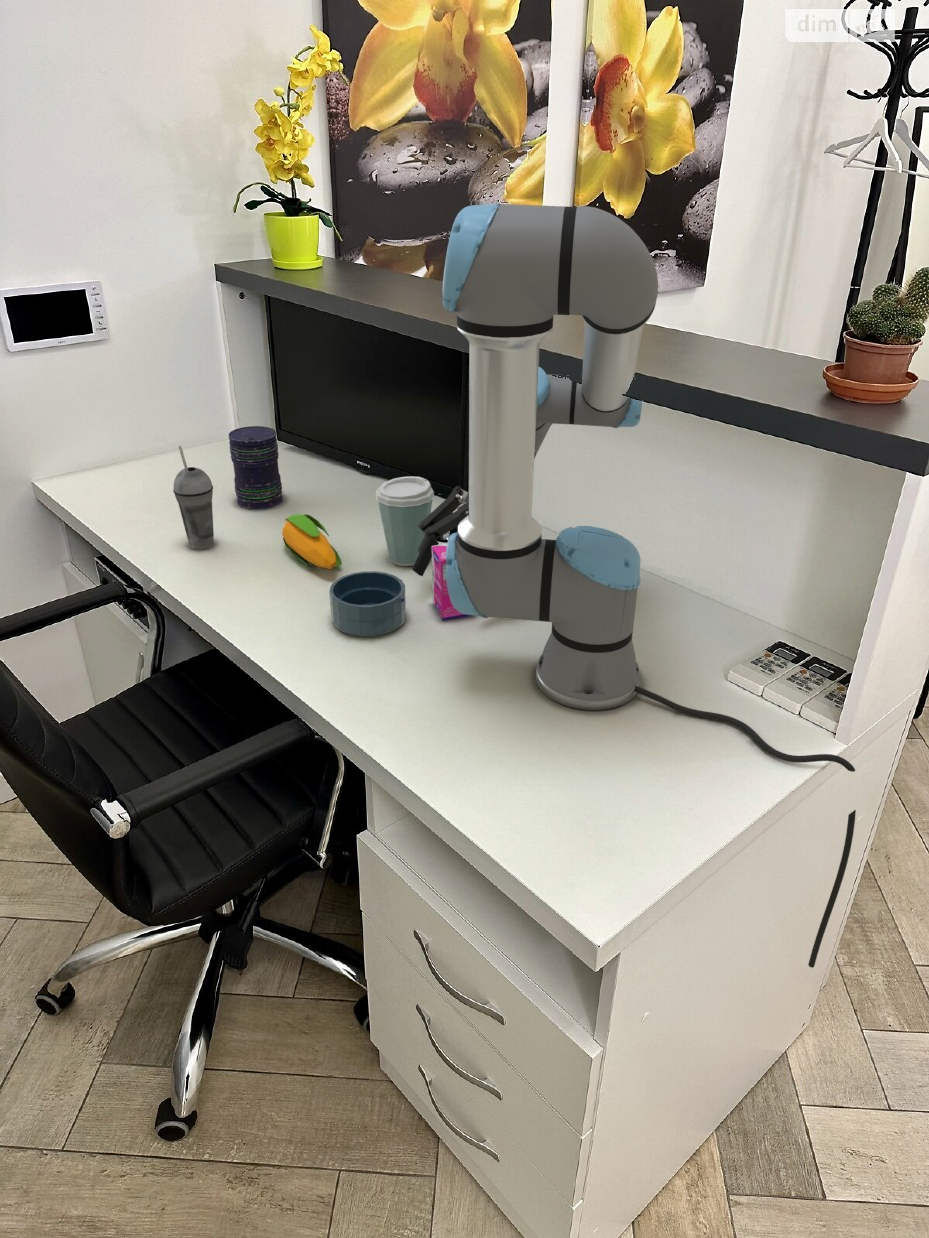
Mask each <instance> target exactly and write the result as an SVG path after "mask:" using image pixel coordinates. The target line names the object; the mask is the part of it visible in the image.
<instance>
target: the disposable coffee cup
mask: <svg viewBox="0 0 929 1238" xmlns="http://www.w3.org/2000/svg"><path fill="white" fill-rule="evenodd" d="M434 497H435V492H434V490H433V488H432V485H431V483H430V481H429V480H428V479H427V478H424V477H421V476H408V475H406V476H400V477H395V478H392V479H389V480H386V481H385V482H383V483H382V484H381V485H380V486H379V487H378V488H377V489H376V490H375V498H376V501H377V504H378V505H377V506H378V510H379V515H380V519H381V525H382V528H383V529H382V530H383V534H384V539H385V543H386V547H387V553H388V557H389V559H390V562H391V563H392V564H393V565H396V566H401V567H413V566H414V564H415V562H416V560H417V558H418V556H419V554H420V553H419V552H418V548H419V546H420V544H421V542H422V540H423V538H424V536H425V534H424V532H423V531H422V530H421V529H420V528H419V527H418V525H419V524H420V523H421V522H422V521H423V520H424V519H425V518H426V517H427V516H428V515H429V514H430V513H431V512H432V505H433V498H434Z"/></svg>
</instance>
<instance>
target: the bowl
mask: <svg viewBox="0 0 929 1238" xmlns="http://www.w3.org/2000/svg"><path fill="white" fill-rule="evenodd" d="M328 593H329V605H330V616H331V617H330V619H331V621H332V622H331V623H332V624H333V626H334V627H335V628H336V629H338V630H339V631H341V632H343V633H345V634H348V635H351V636H356V637H357V636H358V637H377V636H381V635H384V634H385V635H386V634H388V633H390V632H393V631H395V630H397V629H398V628H399V627H401V626H402V625H403V624H404V623H405V621H406V618H407V606H406V605H407V603H406V600H407V599H406V585H405V583H404V582H403V580H402V579H401V578H399V577H397V576H396V575H394V574H391V573H389V572H384V571H376V570H371V571H370V570H369V571H366V570H365V571H364V570H363V571H358V572H357V571H356V572H352V573H348V574H345V575H343V576H341V577H339V578H337V579H336V580H334V582H333V583H332V584H331V585H330V587H329V592H328Z"/></svg>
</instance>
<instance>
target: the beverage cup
mask: <svg viewBox="0 0 929 1238" xmlns="http://www.w3.org/2000/svg"><path fill="white" fill-rule="evenodd" d="M178 450H179V453H180V454H179V455H180V457H181V460H182V465H183V467H184V468H182V469H181V470H179V472H178V473H177V474H176V476H175V478H174V479H173V491H172V492H173V494H174V498H175V500H176V502H177V504H178V507H179V512H180V516H181V518H182V523H183V527H184V531H185V534H186V535H185V536H186V538H187V540H188V541H187V542H188V544H189V547H190V549H192V550H198V551H200V550H206V549H207V550H208V549H209V548H212V547H213V546H214V545H215V541H214V540H215V539H214V537H215V533H214V514H213V513H214V512H213V492H214V491H213V490H214V485H213V483H212V480H211V478H210V476H209V475H208V474H207V473H206V471H204V470H203V469H201V468H199V467H195V466H188V465H187V461H186V457H185V455H184V450H183V447H182V445H178Z"/></svg>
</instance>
